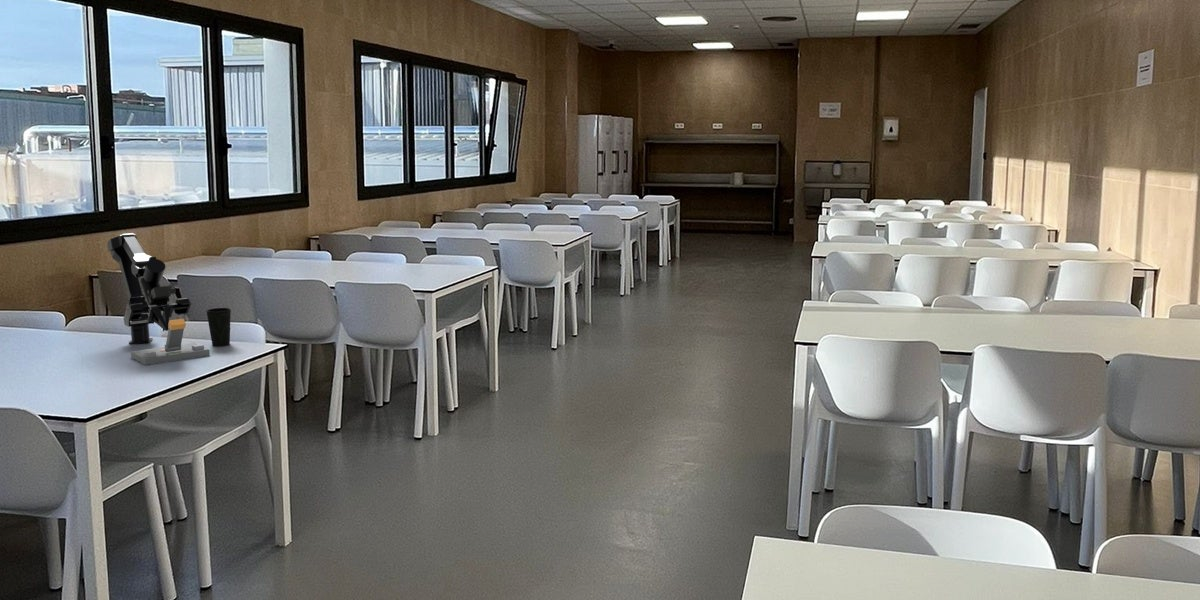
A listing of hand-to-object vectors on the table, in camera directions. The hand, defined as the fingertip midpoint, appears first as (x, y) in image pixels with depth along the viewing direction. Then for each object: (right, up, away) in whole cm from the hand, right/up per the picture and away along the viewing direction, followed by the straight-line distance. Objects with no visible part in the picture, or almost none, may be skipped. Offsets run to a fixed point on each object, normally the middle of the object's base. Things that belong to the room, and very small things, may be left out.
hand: (167, 330), depth 333 cm
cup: (+11, -6, +18) cm, 22 cm away
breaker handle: (+2, -6, -2) cm, 7 cm away
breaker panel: (+1, -9, 0) cm, 9 cm away
